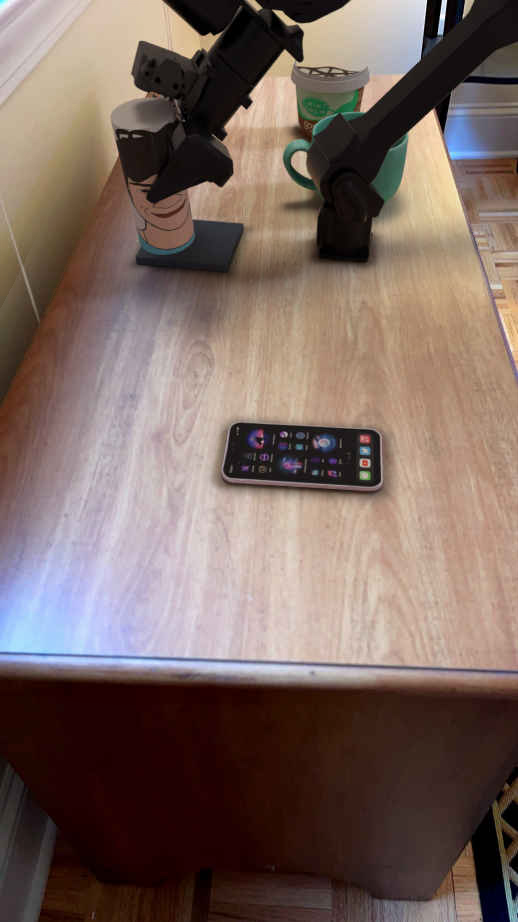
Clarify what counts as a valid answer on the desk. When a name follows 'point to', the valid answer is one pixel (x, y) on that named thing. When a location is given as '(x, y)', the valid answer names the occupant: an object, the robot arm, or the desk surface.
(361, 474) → the smartphone
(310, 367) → the desk surface
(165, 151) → the cup
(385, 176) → the mug
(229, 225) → the slate mat
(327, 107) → the food container
